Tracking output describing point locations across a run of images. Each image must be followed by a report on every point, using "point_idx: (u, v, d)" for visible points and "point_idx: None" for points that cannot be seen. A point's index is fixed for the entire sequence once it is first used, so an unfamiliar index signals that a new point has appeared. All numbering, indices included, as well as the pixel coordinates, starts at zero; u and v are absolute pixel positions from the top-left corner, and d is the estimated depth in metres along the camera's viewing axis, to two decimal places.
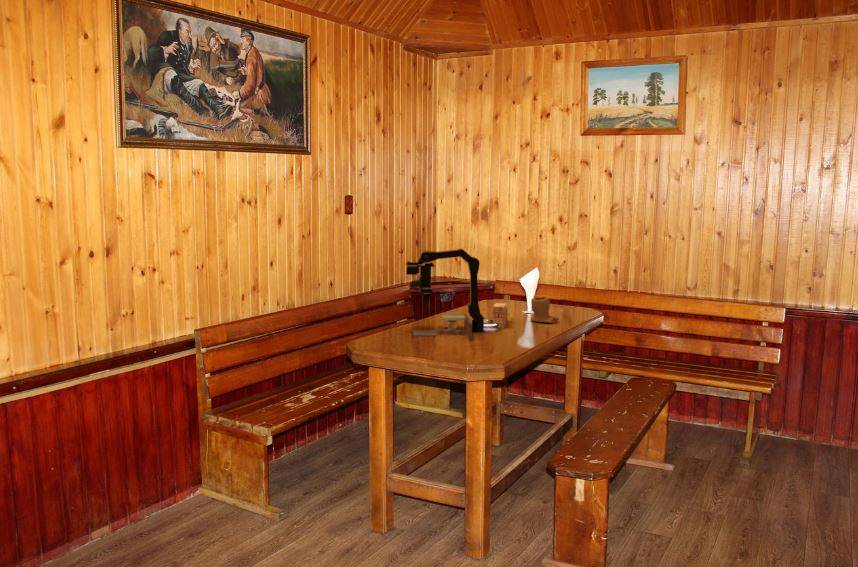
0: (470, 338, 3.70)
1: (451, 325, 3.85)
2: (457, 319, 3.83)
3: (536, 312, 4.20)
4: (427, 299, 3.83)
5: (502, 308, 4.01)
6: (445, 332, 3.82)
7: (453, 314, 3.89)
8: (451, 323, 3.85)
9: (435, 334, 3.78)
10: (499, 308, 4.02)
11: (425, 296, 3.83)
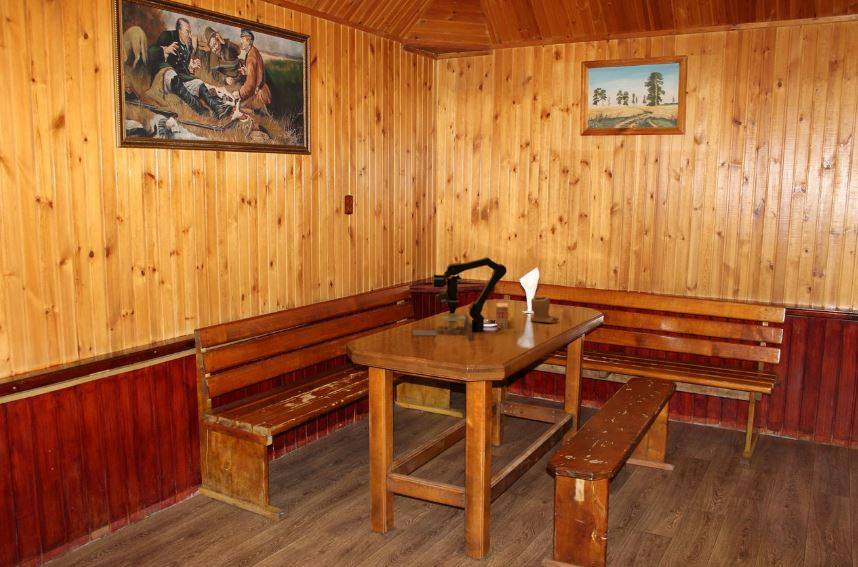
0: (470, 338, 3.70)
1: (451, 325, 3.85)
2: (457, 320, 3.82)
3: (536, 312, 4.20)
4: (453, 310, 3.89)
5: (506, 308, 4.02)
6: (445, 332, 3.82)
7: (453, 315, 3.88)
8: (451, 323, 3.85)
9: (435, 334, 3.78)
10: (503, 308, 4.02)
11: (451, 307, 3.89)
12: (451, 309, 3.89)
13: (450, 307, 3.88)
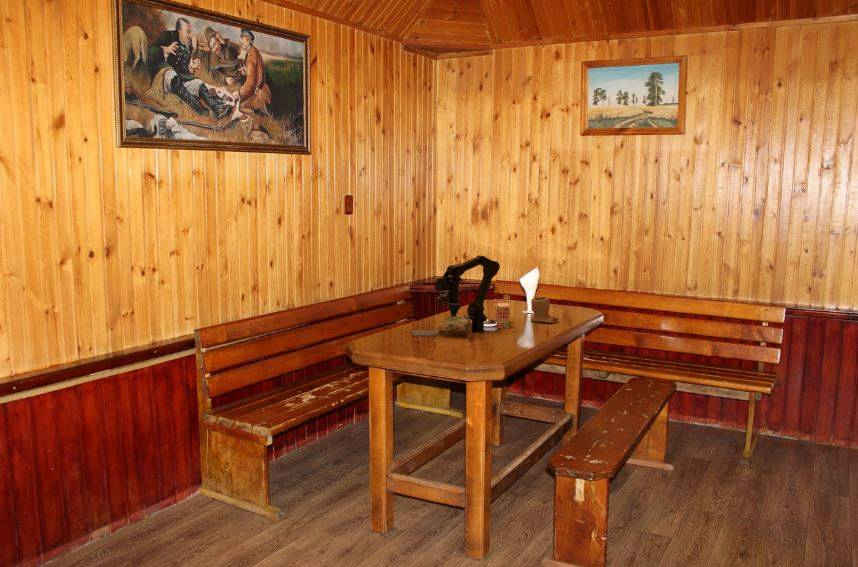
0: (470, 338, 3.70)
1: (451, 325, 3.85)
2: (459, 323, 3.73)
3: (536, 312, 4.20)
4: (454, 313, 3.80)
5: (507, 308, 4.02)
6: (445, 332, 3.82)
7: (455, 318, 3.79)
8: None
9: (435, 334, 3.78)
10: (504, 308, 4.02)
11: (452, 310, 3.80)
12: (452, 312, 3.80)
13: (451, 310, 3.80)
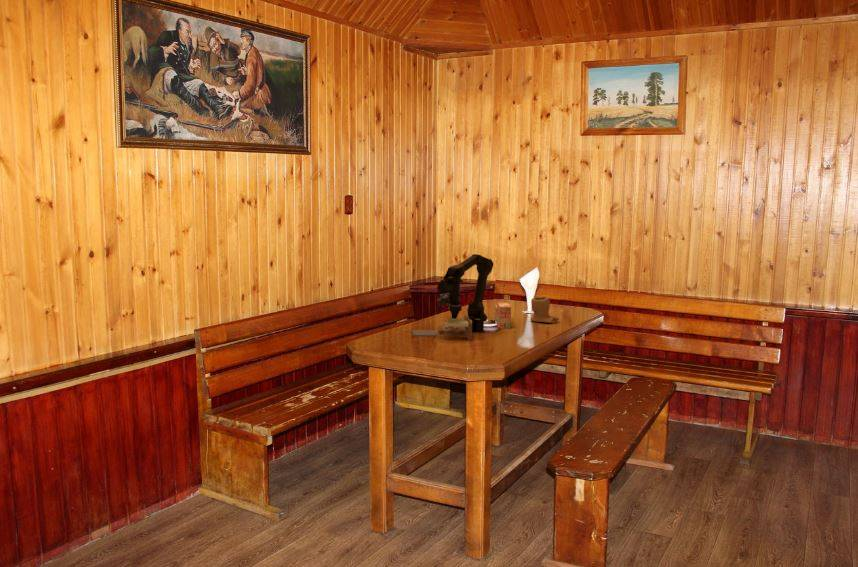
0: (470, 338, 3.70)
1: None
2: (460, 325, 3.68)
3: (536, 312, 4.20)
4: (455, 315, 3.75)
5: (509, 308, 4.02)
6: (445, 332, 3.82)
7: (455, 320, 3.74)
8: None
9: (435, 334, 3.78)
10: (506, 308, 4.02)
11: (453, 312, 3.75)
12: (453, 314, 3.75)
13: (452, 312, 3.74)
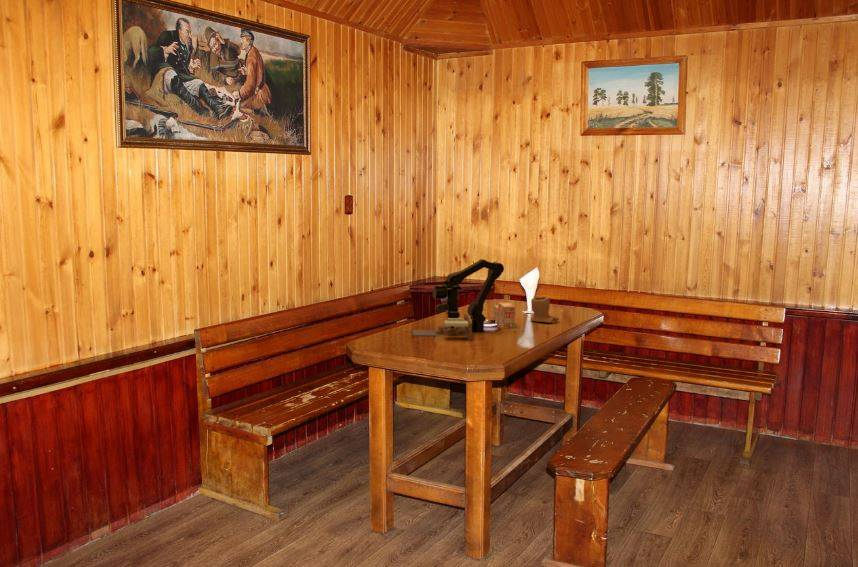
0: (470, 338, 3.70)
1: None
2: (460, 325, 3.68)
3: (536, 312, 4.20)
4: None
5: (513, 308, 4.03)
6: (445, 332, 3.82)
7: (455, 320, 3.74)
8: None
9: (435, 334, 3.78)
10: (510, 308, 4.03)
11: None
12: None
13: None
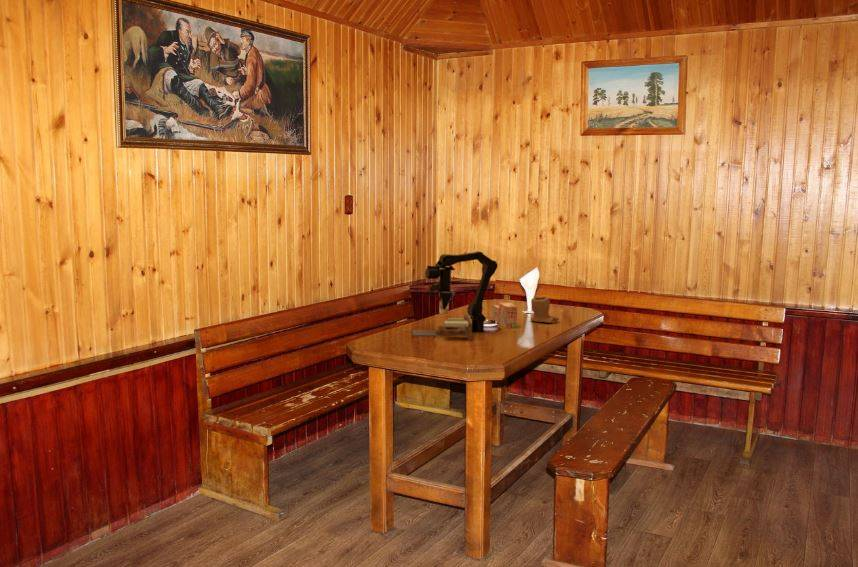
0: (470, 338, 3.70)
1: None
2: (460, 325, 3.68)
3: (536, 312, 4.20)
4: (446, 302, 3.81)
5: (515, 307, 4.04)
6: (445, 332, 3.82)
7: (455, 320, 3.74)
8: None
9: (435, 334, 3.78)
10: (512, 308, 4.03)
11: (444, 299, 3.80)
12: (444, 301, 3.80)
13: (443, 299, 3.80)
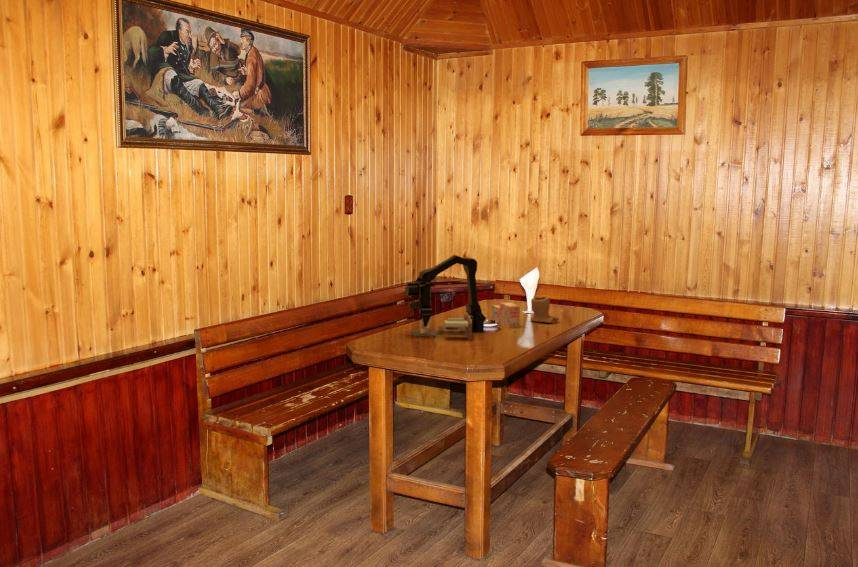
0: (470, 338, 3.70)
1: None
2: (460, 325, 3.68)
3: (536, 312, 4.20)
4: (427, 320, 3.76)
5: (518, 307, 4.05)
6: (445, 332, 3.82)
7: (455, 320, 3.74)
8: None
9: (435, 334, 3.78)
10: (515, 307, 4.04)
11: (425, 317, 3.76)
12: (425, 319, 3.76)
13: (424, 317, 3.75)
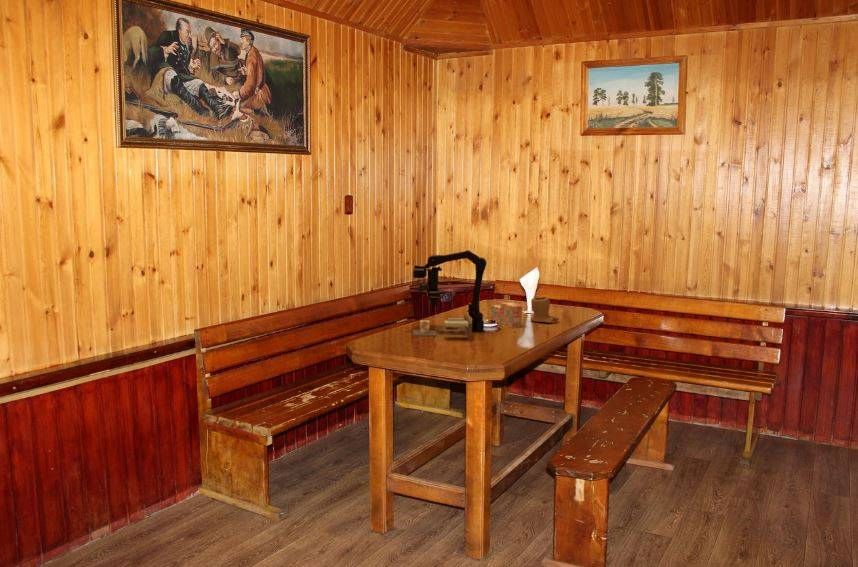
0: (470, 338, 3.70)
1: (424, 325, 3.80)
2: (460, 325, 3.68)
3: (536, 312, 4.20)
4: (434, 303, 3.88)
5: (520, 307, 4.06)
6: (445, 332, 3.82)
7: (455, 320, 3.74)
8: (424, 323, 3.79)
9: (435, 334, 3.78)
10: (518, 307, 4.06)
11: (432, 300, 3.87)
12: (432, 301, 3.88)
13: (431, 299, 3.87)
